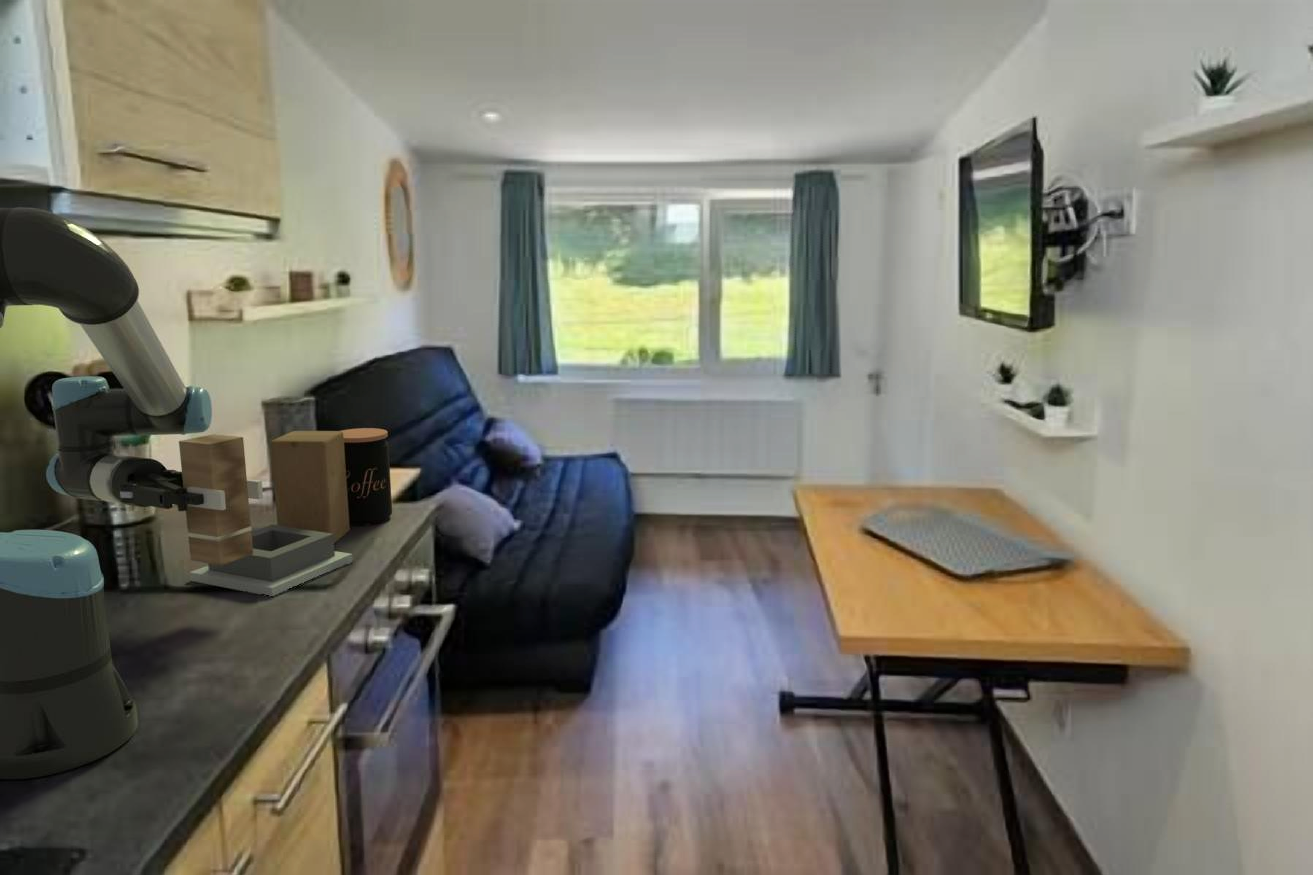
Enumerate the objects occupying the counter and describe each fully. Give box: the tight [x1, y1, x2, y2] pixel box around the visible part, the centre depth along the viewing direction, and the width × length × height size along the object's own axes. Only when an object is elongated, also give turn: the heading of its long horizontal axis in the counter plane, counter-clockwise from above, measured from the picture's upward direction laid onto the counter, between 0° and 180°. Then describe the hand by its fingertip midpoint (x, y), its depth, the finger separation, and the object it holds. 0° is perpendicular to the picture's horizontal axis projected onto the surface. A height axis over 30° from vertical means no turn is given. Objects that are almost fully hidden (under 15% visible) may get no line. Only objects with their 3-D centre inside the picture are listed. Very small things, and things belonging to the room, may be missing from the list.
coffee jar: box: [340, 427, 393, 527], centre depth 182 cm, size 11×11×18 cm
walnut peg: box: [178, 433, 253, 565], centre depth 133 cm, size 6×6×18 cm
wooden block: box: [270, 430, 351, 544], centre depth 169 cm, size 10×10×20 cm
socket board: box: [189, 524, 353, 597], centre depth 153 cm, size 18×18×6 cm
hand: (241, 495), depth 131 cm, fingers closed on walnut peg, 6 cm apart
